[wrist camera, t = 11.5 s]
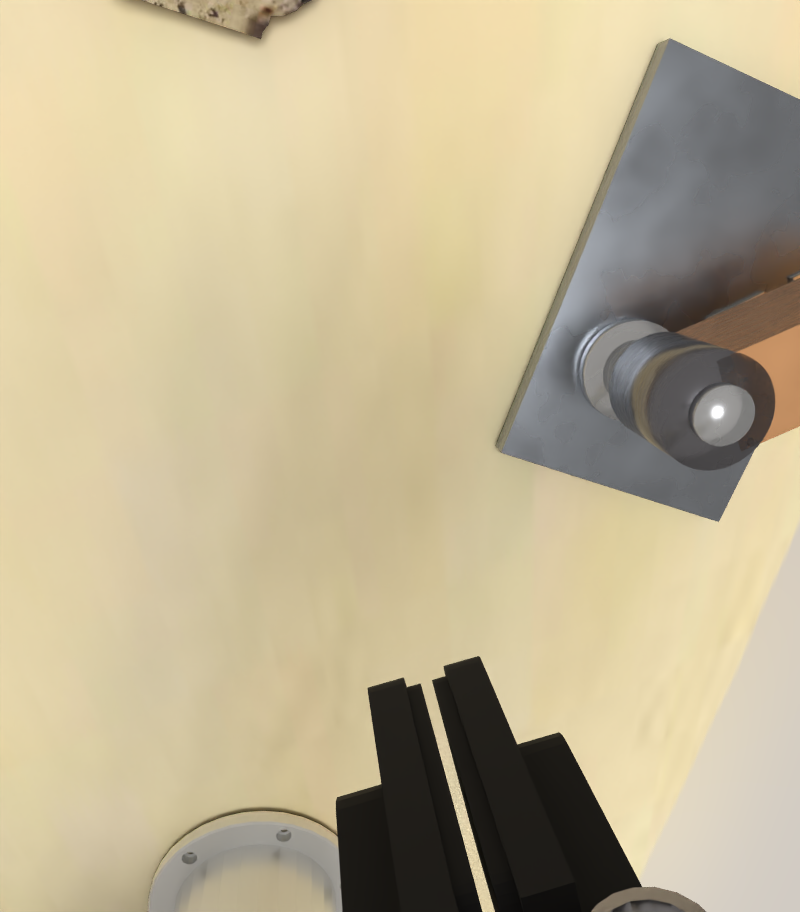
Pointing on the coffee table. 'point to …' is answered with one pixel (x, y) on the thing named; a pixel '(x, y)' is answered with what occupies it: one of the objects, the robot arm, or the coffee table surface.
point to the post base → (663, 267)
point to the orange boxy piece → (715, 382)
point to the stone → (234, 12)
